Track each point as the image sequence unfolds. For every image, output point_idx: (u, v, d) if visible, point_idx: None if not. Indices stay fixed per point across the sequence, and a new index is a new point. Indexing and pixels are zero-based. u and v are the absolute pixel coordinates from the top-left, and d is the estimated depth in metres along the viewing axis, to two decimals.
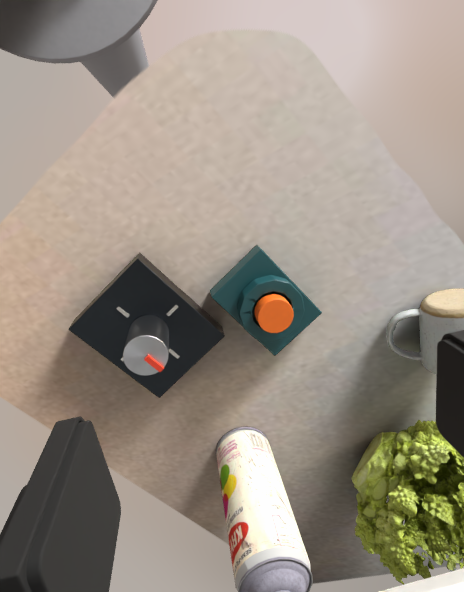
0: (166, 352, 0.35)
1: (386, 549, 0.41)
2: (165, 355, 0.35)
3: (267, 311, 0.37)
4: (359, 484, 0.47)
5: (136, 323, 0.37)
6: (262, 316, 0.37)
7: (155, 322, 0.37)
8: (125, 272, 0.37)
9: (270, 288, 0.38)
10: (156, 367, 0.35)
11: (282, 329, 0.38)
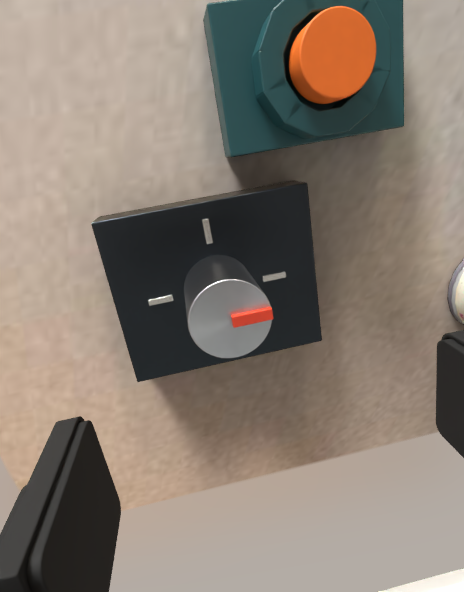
0: (249, 286, 0.18)
1: None
2: (254, 291, 0.18)
3: (317, 62, 0.17)
4: None
5: None
6: (319, 80, 0.17)
7: (202, 267, 0.20)
8: (102, 255, 0.21)
9: (283, 30, 0.18)
10: (261, 318, 0.18)
11: (371, 60, 0.17)
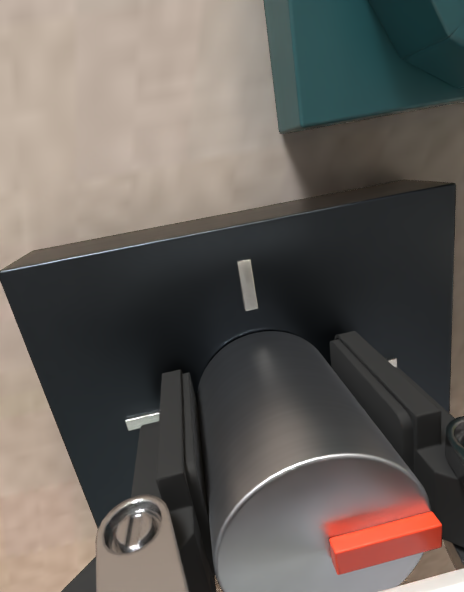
0: (384, 468, 0.06)
1: None
2: (395, 479, 0.06)
3: None
4: None
5: (200, 424, 0.10)
6: None
7: (239, 372, 0.09)
8: (27, 338, 0.10)
9: None
10: (411, 548, 0.07)
11: None
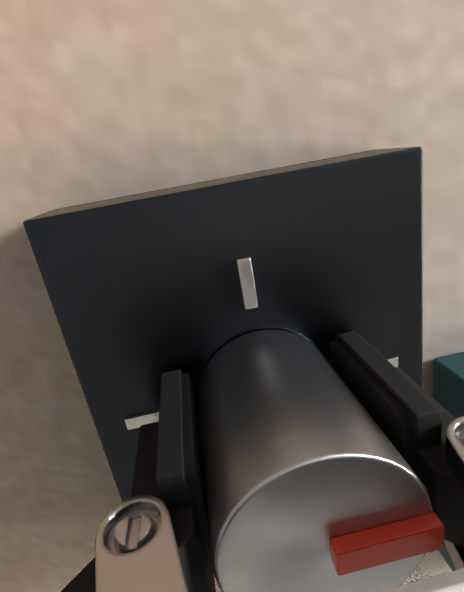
0: (385, 468, 0.06)
1: None
2: (397, 479, 0.06)
3: None
4: None
5: (200, 423, 0.10)
6: None
7: (239, 370, 0.09)
8: (354, 164, 0.10)
9: None
10: (412, 549, 0.07)
11: None
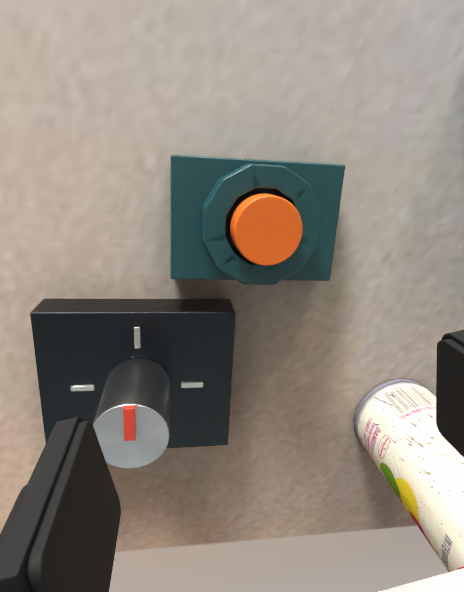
0: (99, 420, 0.19)
1: None
2: (105, 417, 0.19)
3: (249, 235, 0.20)
4: None
5: None
6: (249, 249, 0.20)
7: None
8: (35, 341, 0.23)
9: (228, 198, 0.20)
10: (130, 418, 0.19)
11: (296, 241, 0.20)
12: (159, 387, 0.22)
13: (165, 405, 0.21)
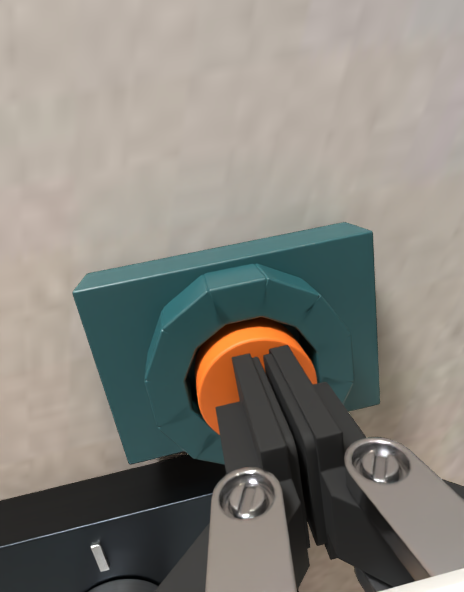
0: None
1: None
2: None
3: None
4: None
5: None
6: None
7: None
8: None
9: (181, 354, 0.11)
10: None
11: None
12: None
13: None
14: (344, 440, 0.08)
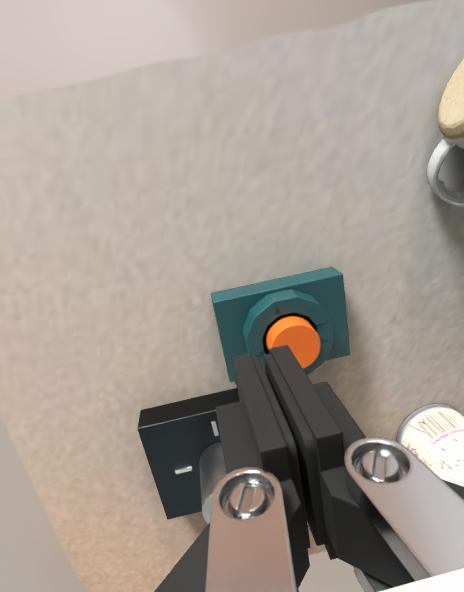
0: (206, 503, 0.28)
1: None
2: (210, 500, 0.28)
3: None
4: None
5: None
6: None
7: None
8: (144, 446, 0.31)
9: (261, 327, 0.28)
10: None
11: (317, 349, 0.27)
12: None
13: None
14: (344, 440, 0.08)
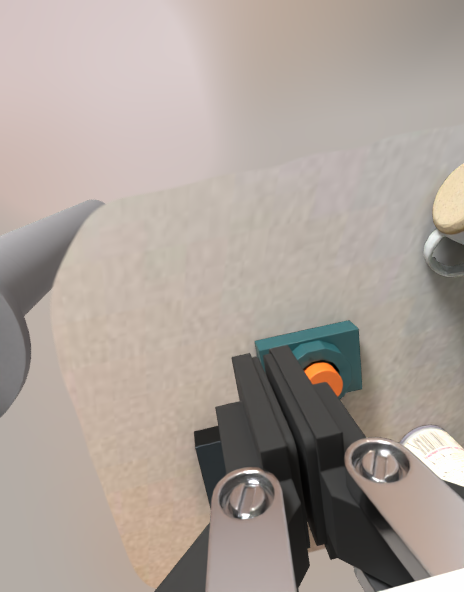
0: None
1: None
2: None
3: None
4: None
5: None
6: None
7: None
8: (199, 461, 0.40)
9: None
10: None
11: (340, 388, 0.36)
12: None
13: None
14: (344, 440, 0.08)
